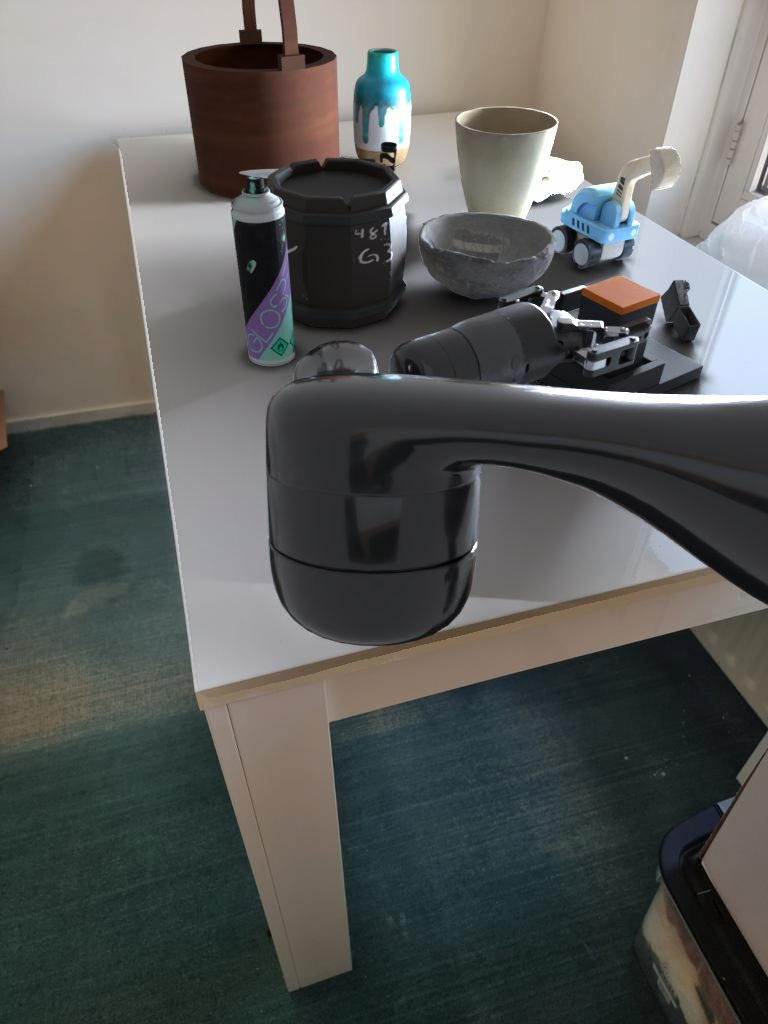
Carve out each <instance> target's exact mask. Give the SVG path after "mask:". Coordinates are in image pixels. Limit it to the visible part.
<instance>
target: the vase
mask: <svg viewBox="0 0 768 1024" xmlns="http://www.w3.org/2000/svg"><path fill="white" fill-rule="evenodd" d="M399 66H400V65H399V51H398V50H397V49H395V48H389V47H375V48H374V47H373V48H370V49H368V50H367V53H366V68H365V71H364V73H363V74H362V75H360V76H359V77H358V78H357V79H356V81H355V83H354V87H353V88H354V90H353V98H352V99H353V100H352V111H353V112H352V123H353V124H352V125H353V126H352V127H353V142H354V149H355V150H354V151H355V153H356V156H357V159H376V161H375V163H378V164H382V165H383V164H385V165H386V166H393V163H391V162H389V161H388V160H387V159H383V163H381V162H380V154H381V153H385V152H382V151H381V144H382V143H383V142H395V143H396V144H397V151H396V162H395V166H396V167H395V168H397V167H398V166H400V165H401V164H402V163H403V162H404V161H405V160H406V158H407V155H408V153H409V148H410V141H411V131H412V92H411V84H410V82H409V80H408V79H407V78H406V77H405V76H404V75H402V73H401V72H400V71H401V70H400V68H399ZM388 154H389V155H390V156H391V157H393V158H394V153H388ZM399 164H400V165H399ZM397 165H398V166H397Z"/></svg>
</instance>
